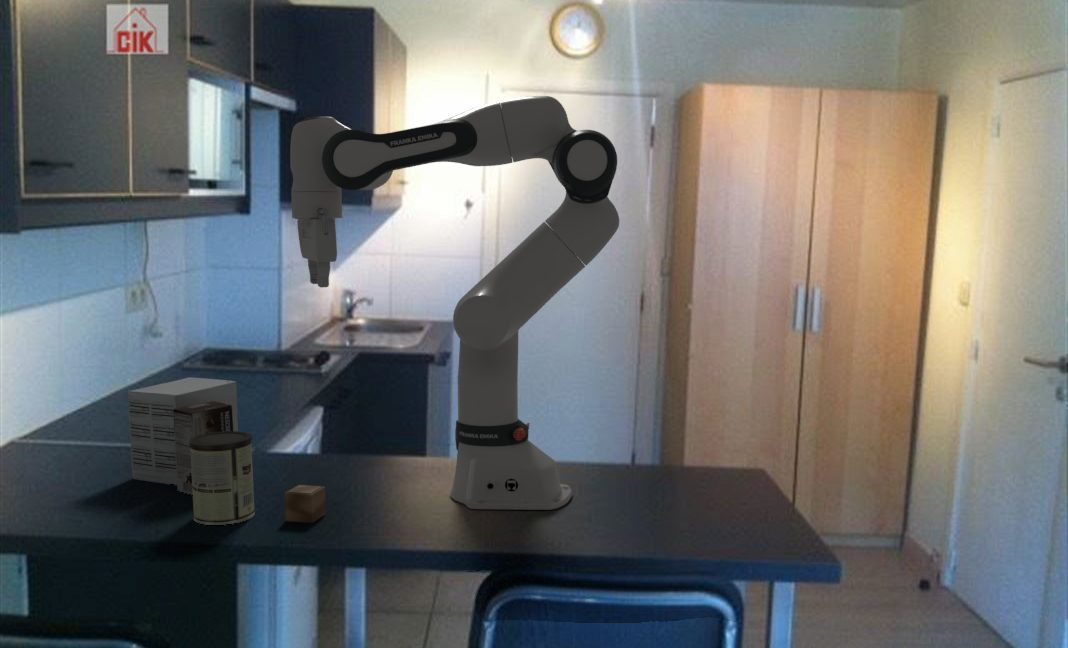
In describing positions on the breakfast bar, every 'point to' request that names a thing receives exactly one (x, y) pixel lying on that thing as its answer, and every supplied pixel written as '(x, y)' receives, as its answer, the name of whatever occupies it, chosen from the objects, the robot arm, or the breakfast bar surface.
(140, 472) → the supplement box
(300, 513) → the walnut cube
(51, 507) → the breakfast bar surface
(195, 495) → the coffee can
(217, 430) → the coffee box
